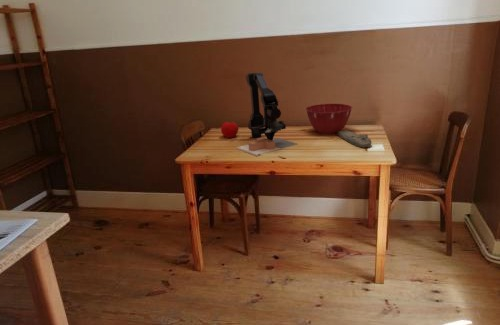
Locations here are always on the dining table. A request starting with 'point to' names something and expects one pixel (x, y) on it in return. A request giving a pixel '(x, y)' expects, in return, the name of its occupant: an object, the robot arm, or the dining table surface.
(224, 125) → the tomato
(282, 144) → the board
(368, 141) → the grey wooden log
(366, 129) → the dining table surface
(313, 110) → the mixing bowl
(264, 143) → the t block
